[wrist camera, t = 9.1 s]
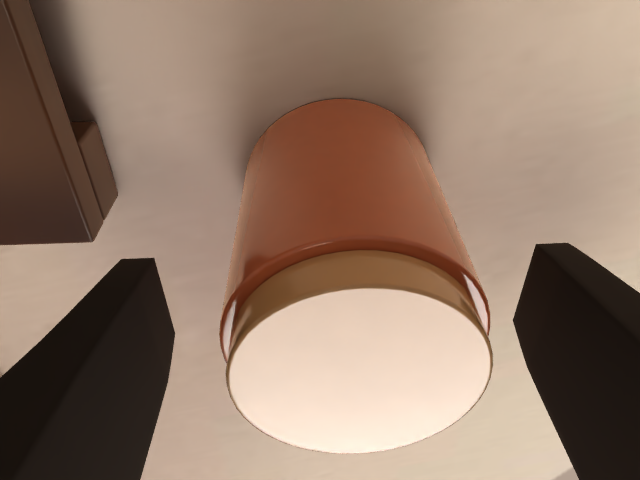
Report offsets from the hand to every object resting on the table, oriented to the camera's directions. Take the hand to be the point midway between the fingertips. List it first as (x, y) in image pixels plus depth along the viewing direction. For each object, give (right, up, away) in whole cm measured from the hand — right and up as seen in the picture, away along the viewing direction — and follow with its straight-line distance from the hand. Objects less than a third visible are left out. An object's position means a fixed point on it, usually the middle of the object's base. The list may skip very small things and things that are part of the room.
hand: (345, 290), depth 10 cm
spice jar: (0, +2, +3) cm, 4 cm away
